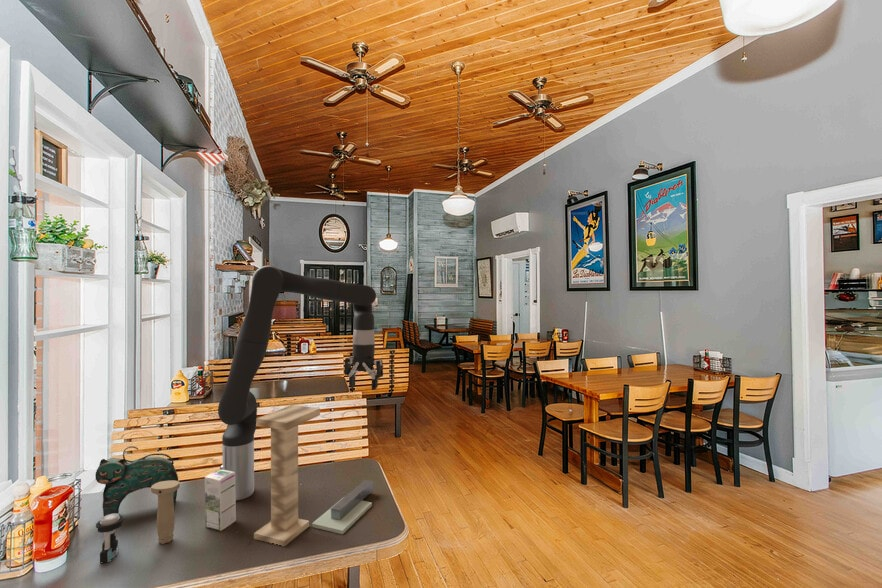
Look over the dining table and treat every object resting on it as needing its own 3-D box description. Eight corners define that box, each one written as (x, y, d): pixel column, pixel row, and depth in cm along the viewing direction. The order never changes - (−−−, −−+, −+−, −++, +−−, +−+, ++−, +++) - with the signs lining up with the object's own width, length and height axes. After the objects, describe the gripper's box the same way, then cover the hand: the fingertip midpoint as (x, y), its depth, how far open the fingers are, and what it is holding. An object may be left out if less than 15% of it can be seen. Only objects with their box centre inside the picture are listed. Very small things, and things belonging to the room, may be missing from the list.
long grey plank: (331, 518, 120) (331, 508, 120) (364, 488, 138) (364, 479, 138) (340, 520, 119) (340, 510, 119) (373, 490, 137) (373, 481, 137)
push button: (104, 549, 107) (104, 510, 107) (129, 545, 109) (129, 507, 109) (92, 565, 101) (91, 524, 101) (118, 561, 103) (118, 521, 102)
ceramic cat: (95, 525, 118) (94, 455, 118) (98, 515, 123) (98, 447, 123) (178, 506, 129) (178, 441, 128) (178, 497, 134) (177, 435, 134)
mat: (312, 526, 118) (311, 523, 118) (344, 499, 133) (344, 496, 133) (342, 534, 114) (342, 530, 114) (371, 505, 129) (371, 502, 129)
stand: (254, 538, 112) (253, 419, 112) (292, 510, 126) (292, 404, 126) (284, 546, 109) (284, 423, 108) (319, 517, 123) (319, 408, 122)
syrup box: (236, 520, 121) (236, 470, 120) (219, 532, 115) (219, 479, 115) (221, 517, 123) (221, 467, 122) (204, 528, 117) (203, 476, 117)
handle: (173, 546, 109) (172, 488, 109) (147, 546, 108) (147, 489, 108) (183, 535, 114) (183, 480, 113) (158, 535, 113) (158, 480, 113)
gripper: (340, 342, 146) (339, 389, 146) (376, 344, 141) (376, 392, 141) (351, 340, 153) (351, 384, 153) (386, 342, 148) (386, 388, 148)
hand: (363, 388), depth 147 cm, fingers open, 8 cm apart
